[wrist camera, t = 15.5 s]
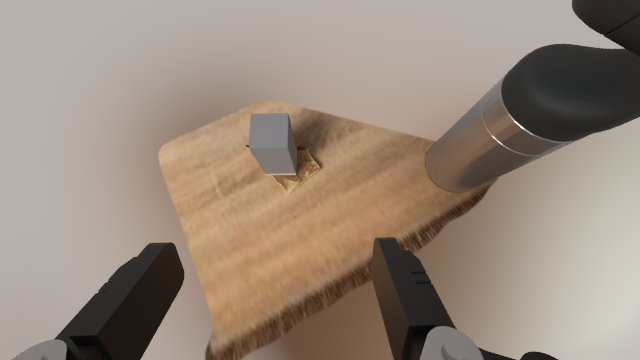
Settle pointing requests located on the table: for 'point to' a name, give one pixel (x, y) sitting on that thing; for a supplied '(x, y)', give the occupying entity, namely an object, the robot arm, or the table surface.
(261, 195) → the table surface
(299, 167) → the shard
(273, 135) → the sanding block
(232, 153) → the table surface
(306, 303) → the table surface
